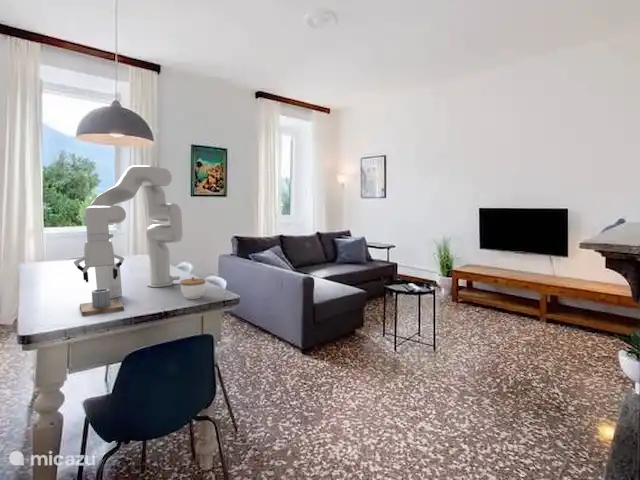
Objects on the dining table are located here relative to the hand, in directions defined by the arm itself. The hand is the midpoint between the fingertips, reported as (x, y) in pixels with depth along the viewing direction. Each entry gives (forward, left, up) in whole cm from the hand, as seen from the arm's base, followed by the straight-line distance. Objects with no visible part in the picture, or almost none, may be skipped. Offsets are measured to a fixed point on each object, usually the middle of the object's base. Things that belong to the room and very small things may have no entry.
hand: (101, 280), depth 151 cm
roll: (0, 0, -10) cm, 10 cm away
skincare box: (-5, -20, -12) cm, 23 cm away
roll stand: (0, 0, -12) cm, 12 cm away
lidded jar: (-36, +2, -12) cm, 38 cm away
